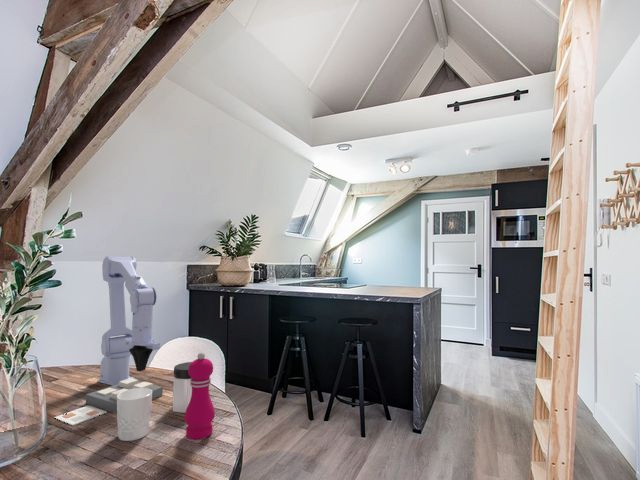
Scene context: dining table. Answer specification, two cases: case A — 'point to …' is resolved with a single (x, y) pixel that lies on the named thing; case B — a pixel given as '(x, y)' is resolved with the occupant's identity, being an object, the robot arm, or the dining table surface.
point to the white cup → (133, 413)
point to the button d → (143, 385)
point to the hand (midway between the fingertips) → (141, 370)
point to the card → (80, 415)
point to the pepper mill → (200, 400)
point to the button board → (110, 403)
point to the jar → (181, 387)
